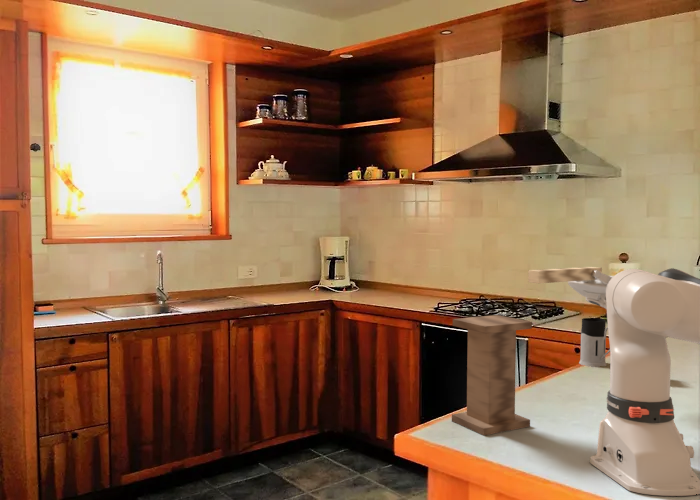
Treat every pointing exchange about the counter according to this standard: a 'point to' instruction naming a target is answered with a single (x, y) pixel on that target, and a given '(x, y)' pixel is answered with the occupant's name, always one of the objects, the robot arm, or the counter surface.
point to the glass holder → (593, 342)
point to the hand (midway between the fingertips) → (585, 271)
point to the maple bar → (561, 274)
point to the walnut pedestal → (491, 374)
